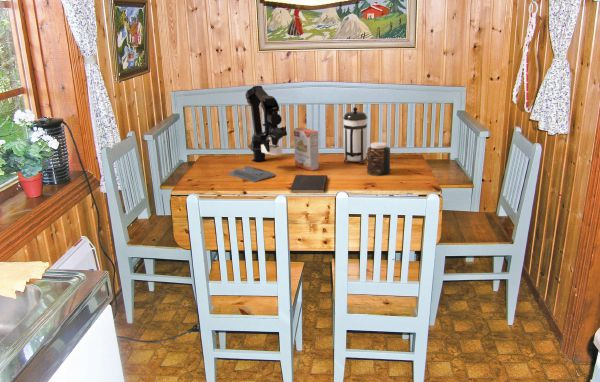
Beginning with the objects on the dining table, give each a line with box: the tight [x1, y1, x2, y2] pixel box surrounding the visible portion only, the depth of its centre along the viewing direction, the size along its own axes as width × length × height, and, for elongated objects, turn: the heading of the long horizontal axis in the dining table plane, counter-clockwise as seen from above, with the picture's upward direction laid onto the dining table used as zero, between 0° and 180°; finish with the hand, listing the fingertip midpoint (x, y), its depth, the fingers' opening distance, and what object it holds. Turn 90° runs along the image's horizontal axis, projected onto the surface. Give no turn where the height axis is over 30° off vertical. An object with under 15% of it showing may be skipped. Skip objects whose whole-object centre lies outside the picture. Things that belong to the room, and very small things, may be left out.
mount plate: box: [227, 165, 276, 183], centre depth 290 cm, size 21×14×3 cm, turn 44°
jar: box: [366, 141, 391, 176], centre depth 284 cm, size 12×12×15 cm
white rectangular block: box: [261, 143, 283, 157], centre depth 295 cm, size 12×4×4 cm, turn 44°
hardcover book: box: [289, 174, 329, 194], centre depth 270 cm, size 16×23×2 cm
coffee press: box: [342, 107, 368, 165], centre depth 303 cm, size 17×16×30 cm
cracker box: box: [293, 126, 320, 172], centre depth 297 cm, size 14×6×21 cm, turn 37°
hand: (271, 151), depth 296 cm, fingers closed on white rectangular block, 4 cm apart
